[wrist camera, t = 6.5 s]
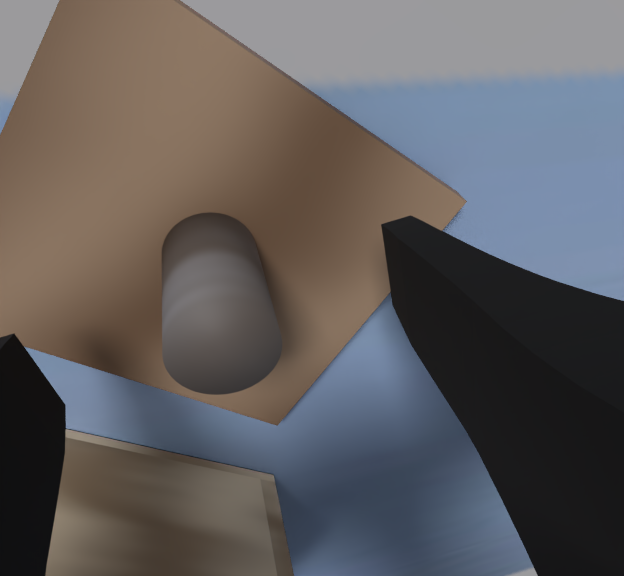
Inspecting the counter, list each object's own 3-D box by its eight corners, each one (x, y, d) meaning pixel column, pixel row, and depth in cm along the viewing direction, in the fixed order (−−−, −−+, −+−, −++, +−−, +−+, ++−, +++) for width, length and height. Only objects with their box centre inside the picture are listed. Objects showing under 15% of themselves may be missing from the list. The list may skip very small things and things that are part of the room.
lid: (-63, 286, 13) (-148, 436, 10) (92, -64, 10) (55, -41, 6) (271, 399, 18) (300, 529, 14) (448, 183, 15) (544, 278, 11)
